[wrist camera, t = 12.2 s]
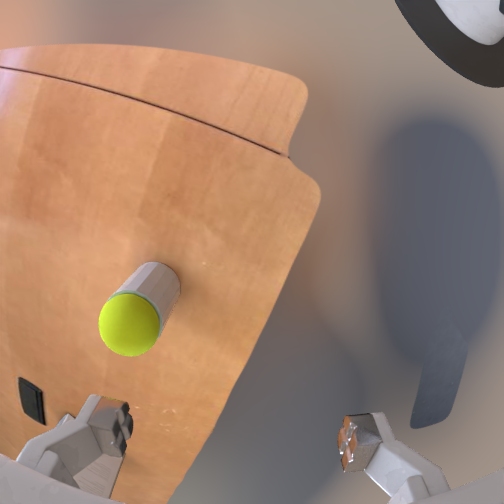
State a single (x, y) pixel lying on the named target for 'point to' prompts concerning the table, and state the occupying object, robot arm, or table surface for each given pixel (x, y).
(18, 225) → the table surface
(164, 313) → the cup
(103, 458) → the hard drive box
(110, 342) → the tennis ball
